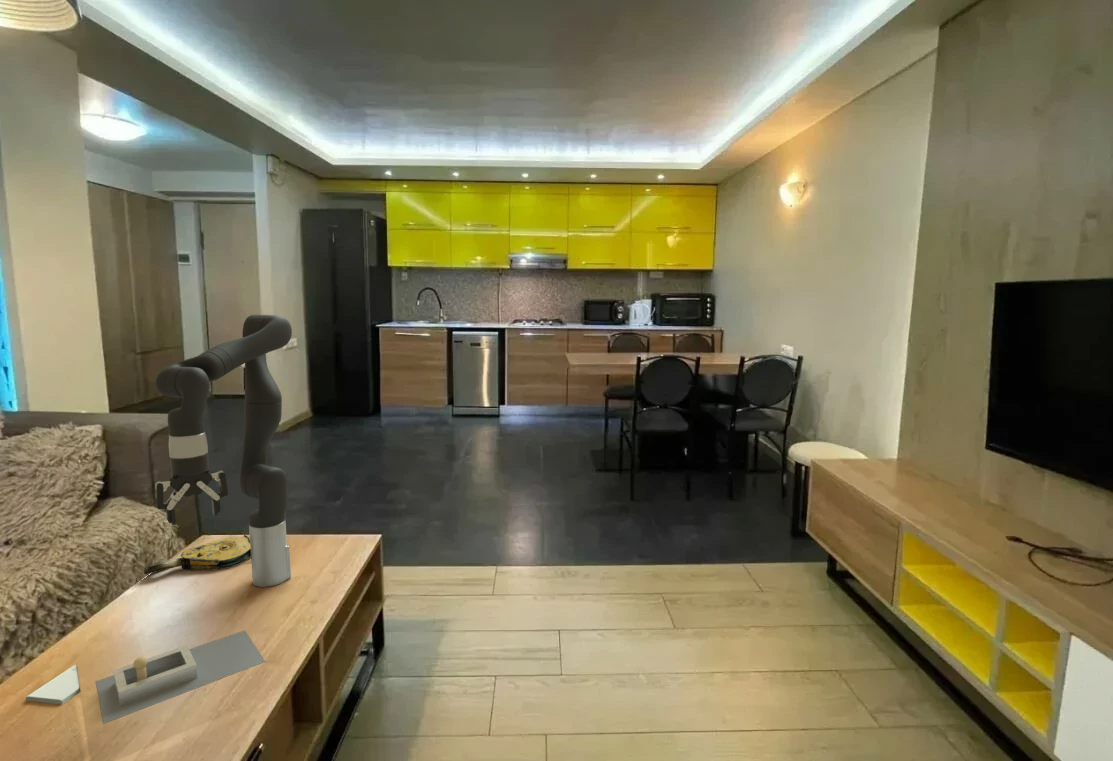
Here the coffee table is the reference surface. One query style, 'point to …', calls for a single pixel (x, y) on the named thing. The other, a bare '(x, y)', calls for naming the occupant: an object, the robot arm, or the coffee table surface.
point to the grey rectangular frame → (158, 681)
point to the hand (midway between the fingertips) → (194, 519)
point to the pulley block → (209, 556)
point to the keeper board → (211, 666)
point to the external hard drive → (58, 688)
